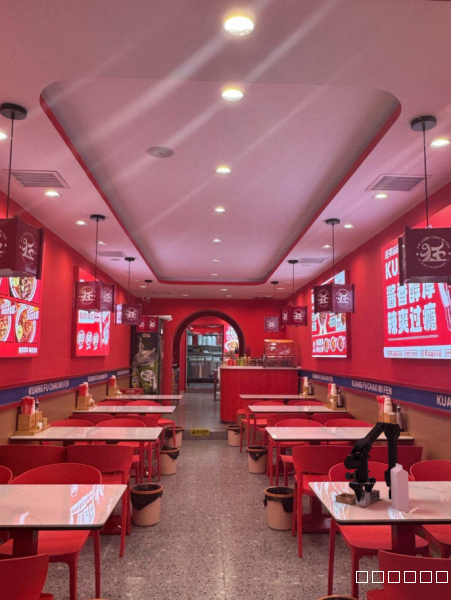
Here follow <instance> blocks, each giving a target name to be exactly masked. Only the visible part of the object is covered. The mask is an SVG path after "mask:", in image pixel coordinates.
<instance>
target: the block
mask: <svg viewBox="0 0 451 600" xmlns="http://www.w3.org/2000/svg"><path fill="white" fill-rule="evenodd" d="M356 505H359V506H363V507H366V508H368V507H370V506H371V505H370V492H367V491H366V490H365V489H364V490H363V493H362V497H361V501H360V502H358V501H357V498H356ZM369 505H370V506H369ZM367 506H368V507H367Z"/></svg>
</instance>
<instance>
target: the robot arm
mask: <svg viewBox="0 0 451 600" xmlns="http://www.w3.org/2000/svg"><path fill="white" fill-rule="evenodd" d="M401 429H402V428H401V425H400V424H399V423H395V422H389V421H388V422H385V421H377V422H376V423H375V425H374V426H373V427H372V429H370V431H369V432H367V434H366V435H365V436H364V437H362V438H359V439H358V440H356V441H355V442H354V444H353V447H352V449H351V450H350V453H349V454H348V455H346V457H345V458H344V461H343V465H344V468H345V469H346V470H347V472H346V471H345V473H344V478H345V479H346V481H347V482H348V481H349V482H348V488H350V489H351V490H353V492H354V494H355V495H356V498H357V501H358V502H360V501H361V497H362V493H363V490H366V491H367V492H370V493H371V491H372V490H374V487H375V485H376V483H377V479H376V478H375V476H370V475H369V473H371V470H370V469H369V459H371V458H372V456H370V452H371V451H372V449H373V444H374V443H375V441H376V440H378V439H379V437H380V436H381V435H382V434H383V433H384V437H385V438H386V441H387V442H386V443H387V469H386V470H384V472H383V475H384V477H383V479H384V482H385V484H386V487H387V488H389V489H388V491H387V492H388V500H391V469H393V468H394V467H396V463H397V464H399V457H398V456H399V455H398V454H399V453H398V452H399V451H398V440H399V438H400V437H401V431H402V430H401ZM350 470H354V471H353V472H350Z"/></svg>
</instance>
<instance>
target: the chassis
mask: <svg viewBox="0 0 451 600" xmlns="http://www.w3.org/2000/svg"><path fill="white" fill-rule="evenodd" d="M380 496H381V495H380V490H379V489H372V491H371V493H370V505H369V506H367V507H363V506H359V505H356V495H355V493H347V492H342V493H339V494H337V495H335V501H334V503H338V504H343V505H347V506H353V507H356V508H361V509H366V508H368V507H370V506H372V505H374V504H377V503H378V502H381V501H382V500H384V499H382V498H380Z"/></svg>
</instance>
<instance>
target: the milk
mask: <svg viewBox="0 0 451 600" xmlns="http://www.w3.org/2000/svg"><path fill="white" fill-rule="evenodd" d="M409 493H410V491H409V472H408V471H407V470H405V469H403V465H402V464H399V463H398V464H397V463H396V467H394V468H393V469H391V499H390V500H391V501H390V502H391V508H392V509H394V510H395V511H397V512H402V511H403V512H404V514H409V513H410V494H409Z"/></svg>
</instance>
